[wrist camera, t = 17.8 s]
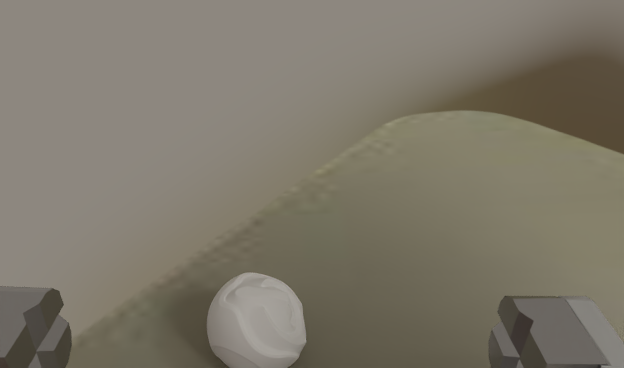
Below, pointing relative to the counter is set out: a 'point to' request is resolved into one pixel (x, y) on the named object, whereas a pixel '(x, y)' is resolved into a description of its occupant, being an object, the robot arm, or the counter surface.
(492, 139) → the counter surface
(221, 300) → the white swirled ball
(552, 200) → the counter surface
